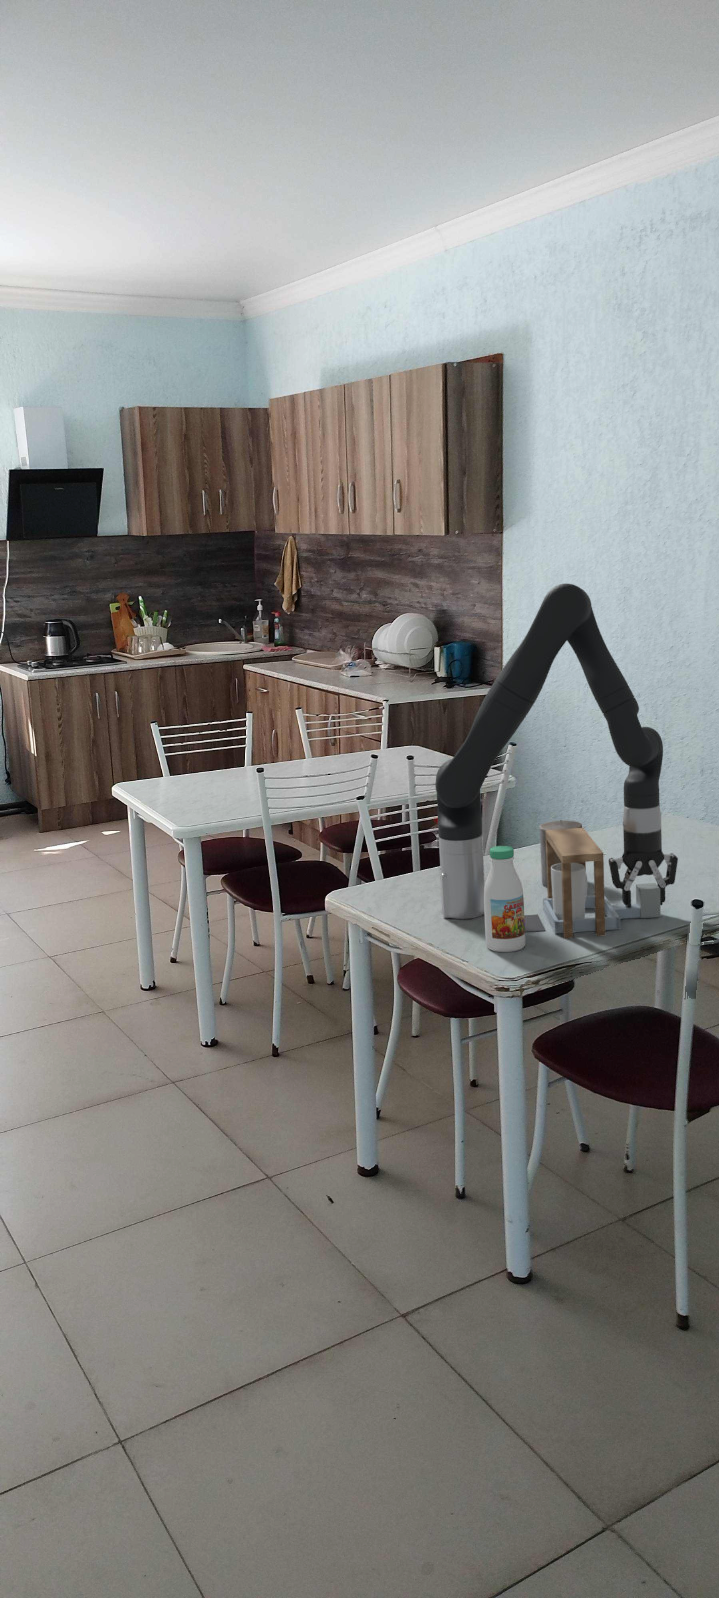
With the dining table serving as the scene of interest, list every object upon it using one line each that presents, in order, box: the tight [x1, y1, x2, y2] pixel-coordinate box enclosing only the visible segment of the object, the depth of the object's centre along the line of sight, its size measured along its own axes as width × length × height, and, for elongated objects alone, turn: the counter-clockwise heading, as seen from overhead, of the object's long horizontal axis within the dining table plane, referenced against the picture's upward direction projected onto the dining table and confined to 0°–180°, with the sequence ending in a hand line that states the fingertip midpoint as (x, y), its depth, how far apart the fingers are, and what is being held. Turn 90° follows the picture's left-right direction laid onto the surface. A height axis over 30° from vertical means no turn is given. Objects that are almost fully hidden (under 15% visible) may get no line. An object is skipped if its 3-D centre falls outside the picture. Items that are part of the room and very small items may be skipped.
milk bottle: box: [484, 845, 526, 953], centre depth 227 cm, size 8×8×20 cm
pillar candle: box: [538, 819, 583, 888], centre depth 265 cm, size 10×10×15 cm
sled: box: [542, 882, 662, 934], centre depth 240 cm, size 22×15×6 cm, turn 91°
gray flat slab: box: [524, 914, 546, 934], centre depth 241 cm, size 6×10×1 cm, turn 1°
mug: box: [551, 863, 588, 920], centre depth 240 cm, size 10×7×12 cm, turn 136°
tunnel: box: [545, 827, 606, 939], centre depth 239 cm, size 8×20×17 cm, turn 1°
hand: (644, 905), depth 240 cm, fingers closed on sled, 6 cm apart
